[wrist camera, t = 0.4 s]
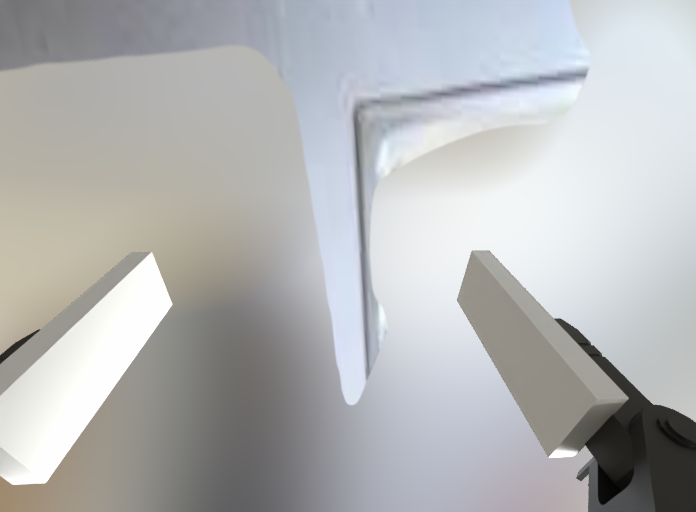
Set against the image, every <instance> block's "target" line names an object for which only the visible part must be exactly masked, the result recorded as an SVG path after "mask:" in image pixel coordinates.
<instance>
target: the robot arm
mask: <svg viewBox="0 0 696 512" xmlns="http://www.w3.org/2000/svg"><path fill="white" fill-rule="evenodd" d="M457 301H458V303H459V305H460V306H461V308H462V310H463V312H464V313H465V315H466V317H467V318H468V320H469V322H470V324H471V325H472V327H473V329H474V330H475V332H476V334H477V335H478V337H479V339H480V341H481V343H482V344H483V346H484V348H485V349H486V351H487V353H488V354H489V356H490V358H491V360H492V361H493V363H494V365H495V366H496V368H497V370H498V372H499V373H500V375H501V377H502V379H503V380H504V382H505V384H506V385H507V387H508V389H509V391H510V392H511V394H512V396H513V397H514V399H515V401H516V403H517V404H518V406H519V407H520V409H521V411H522V413H523V415H524V416H525V418H526V420H527V421H528V423H529V425H530V427H531V428H532V430H533V432H534V433H535V435H536V437H537V439H538V440H539V442H540V444H541V446H542V447H543V449H544V451H545V452H546V454H547V456H548V457H549V458H552V457H571V456H575V455H576V454H577V453H578V452H579V451H580V450H581V449H582V448H583V447H584V446H585V445H586V446H587V448H588V449H589V451H590V452H591V454H592V455H593V456H594V457H593V458H592V459H591V460H590V461H589V462H588V463H587V464H586V465H585V466H584V467H583V468H582V469H581V470H580V471H579V472H578V475H577V479H578V480H580V481H582V480H583V479H584V478H585V477H586V476H587V475H588V474H589V484H588V486H589V503H588V504H589V505H588V512H696V423H695V422H694V421H693V420H691V419H690V418H688V417H686V416H685V415H683V414H681V413H679V412H677V411H675V410H673V409H670V408H667V407H664V406H661V405H653V404H652V403H651V402H650V401H649V400H647V399H646V398H645V397H644V396H643V395H642V394H641V393H640V392H639V391H638V390H637V389H636V388H635V387H634V386H633V385H632V384H631V383H630V382H629V381H628V380H627V379H626V378H625V377H624V376H623V375H622V374H621V373H620V372H619V371H618V370H617V369H616V368H615V367H614V366H613V365H612V364H611V363H610V362H609V361H608V360H607V359H606V358H605V357H602V354H601V353H600V352H599V351H598V350H597V349H596V348H595V347H594V346H592V345H591V343H590V342H589V341H588V340H587V339H586V338H585V337H584V336H583V335H582V334H581V333H580V332H579V331H578V330H577V329H576V328H574V327H573V326H571V325H570V324H568V323H566V322H565V321H564V320H562V319H554V318H553V317H552V316H551V315H550V314H548V312H547V311H546V310H545V309H544V308H543V307H542V306H541V305H540V304H539V303H538V302H537V301H536V300H535V298H534V297H533V296H532V295H531V294H530V293H529V292H528V291H527V290H526V289H525V288H524V287H523V286H522V285H521V284H520V283H519V282H518V280H517V279H516V278H515V277H514V276H513V275H512V274H511V273H510V272H509V271H508V270H507V269H506V268H505V267H504V266H503V265H502V264H501V263H500V262H499V260H498V259H497V258H495V256H494V255H493V254H492V253H491V252H490V251H472V252H471V255H470V259H469V262H468V265H467V269H466V272H465V275H464V278H463V282H462V285H461V289H460V292H459V295H458V298H457ZM171 306H172V302H171V300H170V298H169V295H168V292H167V289H166V287H165V284H164V282H163V279H162V277H161V274H160V272H159V269H158V266H157V264H156V261H155V259H154V256H153V254H152V252H131V253H130V254H129V255H128V256H126V257H125V258H124V259H123V260H122V261H121V262H119V263H118V264H117V265H116V266H115V267H114V268H112V269H111V270H110V271H109V272H108V273H106V274H105V275H104V276H103V277H102V278H101V279H100V280H98V281H97V282H96V283H95V284H94V285H92V286H91V287H90V288H89V289H88V290H87V291H85V292H84V293H83V294H82V295H81V296H80V297H78V298H77V299H76V300H75V301H74V302H73V303H71V304H70V305H69V306H68V307H67V308H66V309H64V310H63V311H62V312H61V313H60V314H59V315H57V316H56V317H55V318H54V319H53V320H51V321H50V322H49V323H48V324H47V325H46V326H44V327H43V328H42V329H41V330H37V331H35V332H33V333H32V334H30V335H28V336H26V337H25V338H23V339H21V340H20V341H18V342H16V343H15V344H13V345H12V346H11V347H10V348H9V349H7V350H6V351H5V352H4V353H3V354H1V355H0V476H1V477H3V478H4V479H5V480H7V481H8V482H10V483H11V484H12V485H18V484H37V483H46V482H47V481H48V479H49V478H50V476H51V475H52V474H53V472H54V471H55V469H56V468H57V466H58V465H59V463H60V462H61V461H62V459H63V458H64V457H65V455H66V454H67V452H68V451H69V450H70V448H71V447H72V445H73V444H74V442H75V441H76V440H77V438H78V437H79V435H80V434H81V433H82V431H83V430H84V428H85V427H86V426H87V424H88V423H89V421H90V420H91V418H92V417H93V416H94V414H95V413H96V412H97V410H98V409H99V407H100V406H101V405H102V403H103V402H104V400H105V399H106V397H107V396H108V395H109V393H110V392H111V390H112V389H113V388H114V386H115V385H116V383H117V382H118V381H119V379H120V378H121V376H122V375H123V374H124V372H125V371H126V369H127V368H128V366H129V365H130V364H131V362H132V361H133V359H134V358H135V357H136V355H137V354H138V352H139V351H140V349H141V348H142V347H143V345H144V344H145V342H146V341H147V340H148V338H149V337H150V335H151V334H152V333H153V331H154V330H155V328H156V327H157V326H158V324H159V323H160V321H161V320H162V319H163V317H164V316H165V314H166V313H167V312H168V310H169V309H170V307H171Z"/></svg>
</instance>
